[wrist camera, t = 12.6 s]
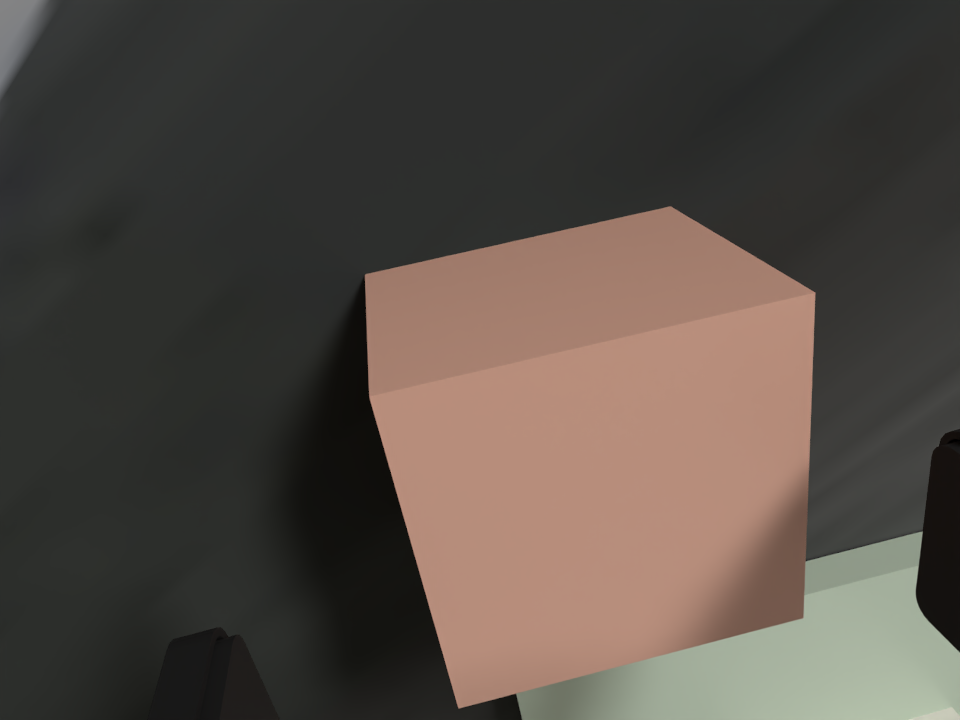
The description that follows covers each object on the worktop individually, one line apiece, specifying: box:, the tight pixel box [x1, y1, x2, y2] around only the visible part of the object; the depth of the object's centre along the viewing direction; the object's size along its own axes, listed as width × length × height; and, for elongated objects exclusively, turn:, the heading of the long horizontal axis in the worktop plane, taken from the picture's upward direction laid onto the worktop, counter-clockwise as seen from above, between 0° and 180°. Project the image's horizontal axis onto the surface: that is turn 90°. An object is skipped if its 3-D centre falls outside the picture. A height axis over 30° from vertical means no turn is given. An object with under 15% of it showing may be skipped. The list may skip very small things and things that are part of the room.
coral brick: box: [365, 207, 815, 709], centre depth 13 cm, size 6×6×5 cm
